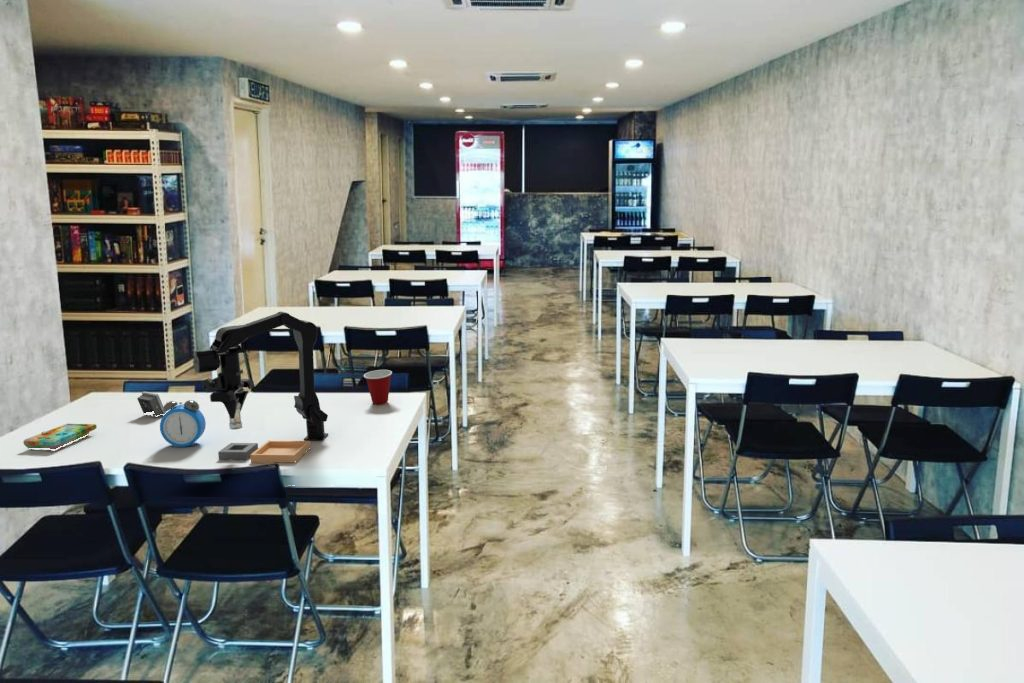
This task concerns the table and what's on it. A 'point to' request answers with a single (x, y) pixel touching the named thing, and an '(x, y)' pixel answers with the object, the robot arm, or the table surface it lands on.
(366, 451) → the table surface
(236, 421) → the cylinder
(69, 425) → the puzzle game
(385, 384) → the plastic cup
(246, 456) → the block
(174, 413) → the alarm clock
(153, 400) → the electrical switch
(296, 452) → the tray
